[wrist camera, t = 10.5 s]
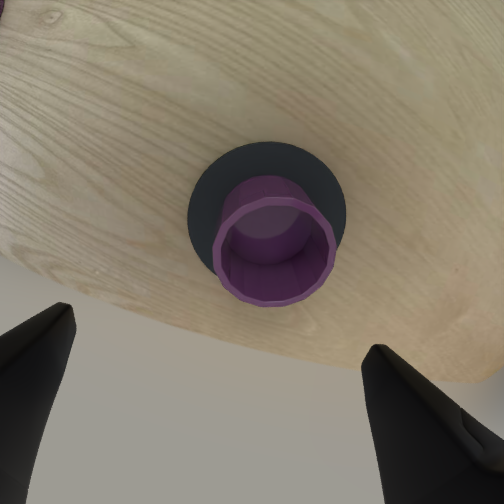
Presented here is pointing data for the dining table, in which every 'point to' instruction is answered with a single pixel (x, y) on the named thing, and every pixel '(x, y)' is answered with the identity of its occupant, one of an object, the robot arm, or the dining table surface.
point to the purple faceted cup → (1, 6)
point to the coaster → (256, 164)
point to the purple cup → (272, 242)
